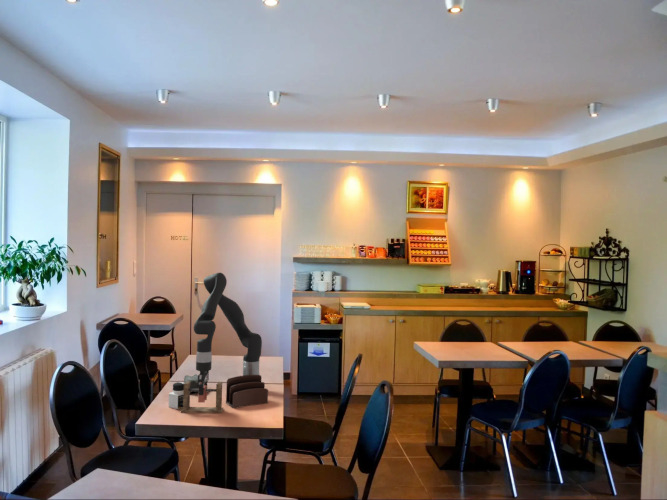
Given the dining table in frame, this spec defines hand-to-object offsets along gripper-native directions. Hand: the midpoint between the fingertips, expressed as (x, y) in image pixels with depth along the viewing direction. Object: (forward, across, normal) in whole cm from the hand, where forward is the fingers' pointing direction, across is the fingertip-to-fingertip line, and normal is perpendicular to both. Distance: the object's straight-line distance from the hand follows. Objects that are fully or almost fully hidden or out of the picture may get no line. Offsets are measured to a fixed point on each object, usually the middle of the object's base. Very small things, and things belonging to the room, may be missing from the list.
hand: (202, 392), depth 256 cm
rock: (+9, +38, +13) cm, 41 cm away
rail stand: (+9, 0, 0) cm, 9 cm away
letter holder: (+9, +14, -20) cm, 27 cm away
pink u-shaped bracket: (+4, 0, 0) cm, 4 cm away
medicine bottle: (+9, +7, +14) cm, 18 cm away
